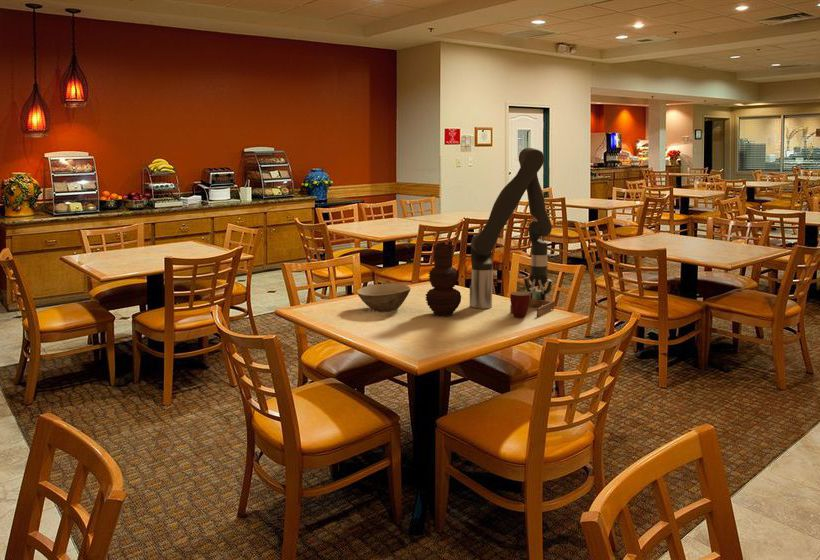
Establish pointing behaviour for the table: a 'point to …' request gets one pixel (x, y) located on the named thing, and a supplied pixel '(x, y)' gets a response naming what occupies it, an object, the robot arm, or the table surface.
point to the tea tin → (536, 294)
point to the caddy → (540, 306)
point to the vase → (443, 282)
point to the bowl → (384, 296)
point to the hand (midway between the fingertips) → (538, 301)
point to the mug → (519, 303)
